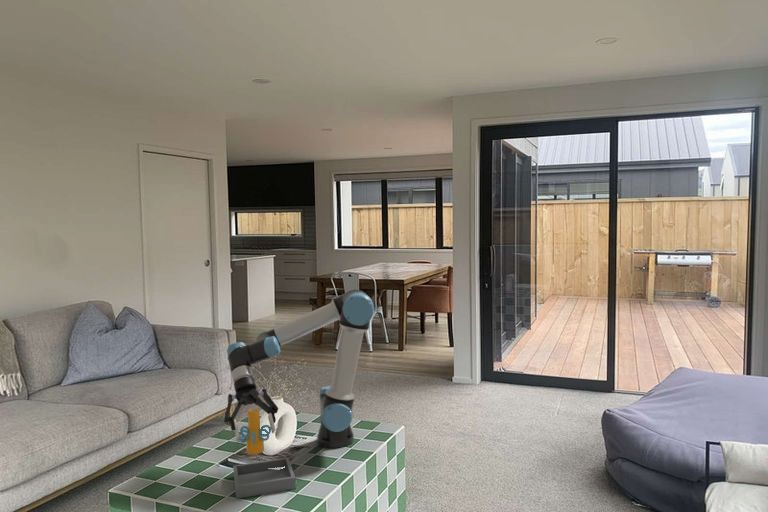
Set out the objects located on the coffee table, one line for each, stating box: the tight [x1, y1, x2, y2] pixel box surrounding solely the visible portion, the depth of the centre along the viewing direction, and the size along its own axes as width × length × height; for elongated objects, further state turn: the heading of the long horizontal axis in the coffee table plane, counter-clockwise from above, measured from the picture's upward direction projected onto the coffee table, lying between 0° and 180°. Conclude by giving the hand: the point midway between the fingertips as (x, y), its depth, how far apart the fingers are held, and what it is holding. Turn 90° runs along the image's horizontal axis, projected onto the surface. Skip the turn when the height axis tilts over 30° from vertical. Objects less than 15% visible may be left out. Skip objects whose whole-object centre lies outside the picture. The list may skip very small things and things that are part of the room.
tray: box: [232, 457, 297, 499], centre depth 208 cm, size 20×18×4 cm
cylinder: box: [238, 407, 272, 455], centre depth 207 cm, size 12×10×15 cm
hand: (256, 434), depth 204 cm, fingers closed on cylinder, 12 cm apart
